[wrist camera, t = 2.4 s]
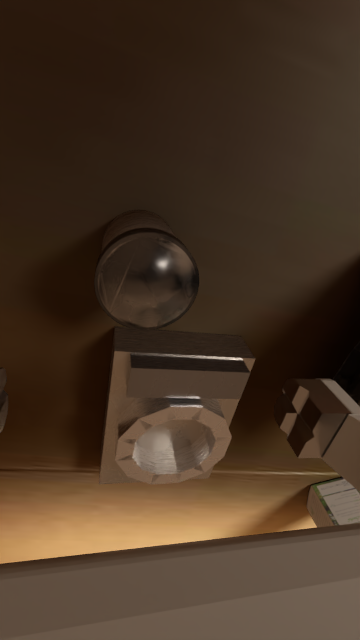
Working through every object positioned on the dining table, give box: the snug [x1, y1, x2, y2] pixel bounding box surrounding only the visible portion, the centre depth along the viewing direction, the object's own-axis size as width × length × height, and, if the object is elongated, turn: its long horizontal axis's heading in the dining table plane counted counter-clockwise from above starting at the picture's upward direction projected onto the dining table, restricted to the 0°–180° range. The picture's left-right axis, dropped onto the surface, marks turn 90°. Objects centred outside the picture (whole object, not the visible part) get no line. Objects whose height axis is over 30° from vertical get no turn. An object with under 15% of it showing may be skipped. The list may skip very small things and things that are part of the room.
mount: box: [99, 327, 255, 484], centre depth 24 cm, size 14×10×5 cm
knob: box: [94, 210, 199, 330], centre depth 17 cm, size 5×5×6 cm
